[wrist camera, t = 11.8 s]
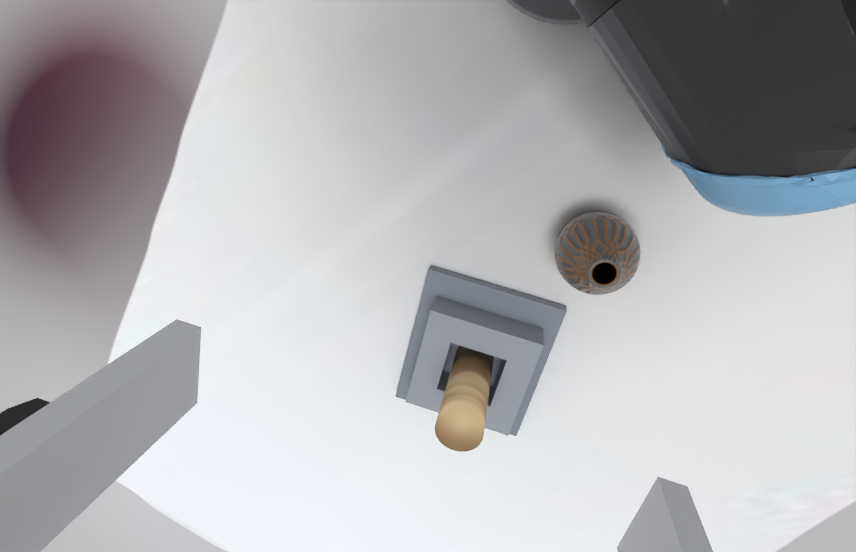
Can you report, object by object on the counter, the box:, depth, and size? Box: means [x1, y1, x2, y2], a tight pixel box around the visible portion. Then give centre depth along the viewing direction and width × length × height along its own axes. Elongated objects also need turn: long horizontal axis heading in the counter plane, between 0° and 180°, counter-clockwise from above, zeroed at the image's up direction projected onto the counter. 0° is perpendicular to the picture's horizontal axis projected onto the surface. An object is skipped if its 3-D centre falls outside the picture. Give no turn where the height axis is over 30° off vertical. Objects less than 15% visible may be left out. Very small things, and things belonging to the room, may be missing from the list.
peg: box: [435, 346, 494, 451], centre depth 45 cm, size 4×4×12 cm
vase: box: [555, 212, 640, 295], centre depth 41 cm, size 7×7×9 cm
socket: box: [396, 265, 566, 436], centre depth 50 cm, size 16×14×5 cm
